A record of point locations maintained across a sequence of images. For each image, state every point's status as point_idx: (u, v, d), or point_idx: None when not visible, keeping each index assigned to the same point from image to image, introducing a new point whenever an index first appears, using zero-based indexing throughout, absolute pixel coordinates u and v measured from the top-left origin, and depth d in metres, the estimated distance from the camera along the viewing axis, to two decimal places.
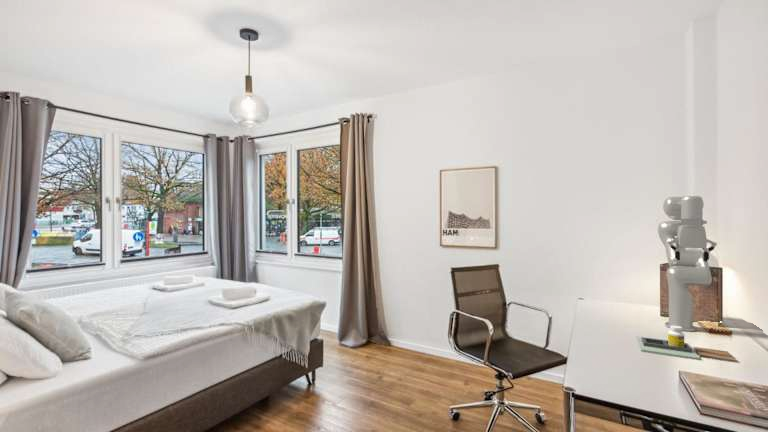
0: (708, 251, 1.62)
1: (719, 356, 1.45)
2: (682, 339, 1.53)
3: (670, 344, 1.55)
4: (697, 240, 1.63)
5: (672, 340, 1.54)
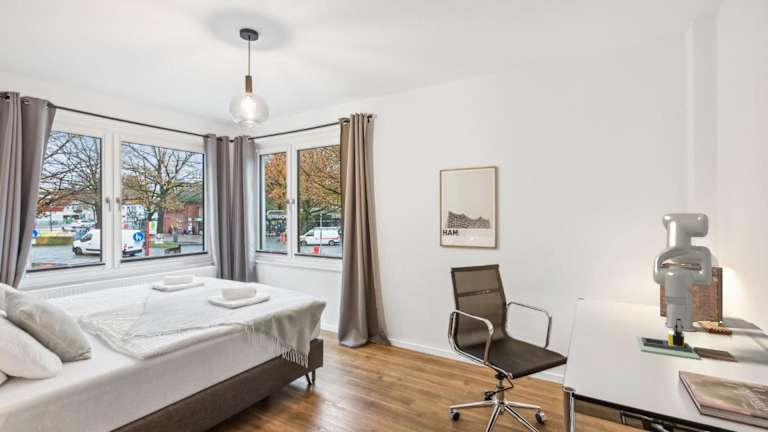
0: None
1: (719, 356, 1.45)
2: None
3: (670, 344, 1.55)
4: None
5: (672, 340, 1.54)
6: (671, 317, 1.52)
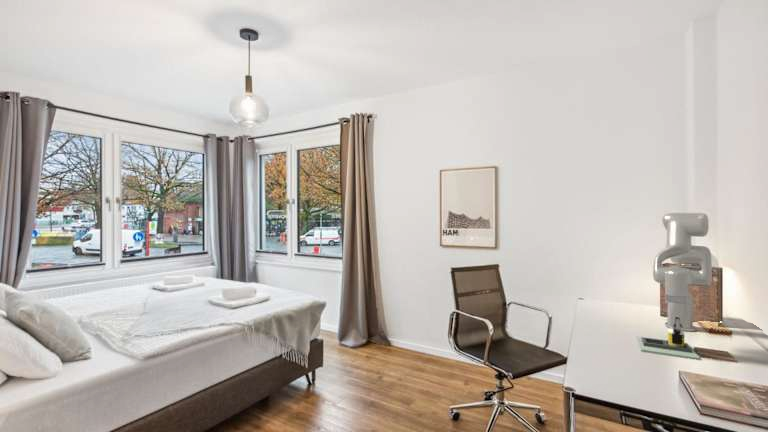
0: None
1: (719, 356, 1.45)
2: (682, 338, 1.53)
3: (670, 342, 1.55)
4: None
5: (671, 339, 1.55)
6: (670, 315, 1.53)
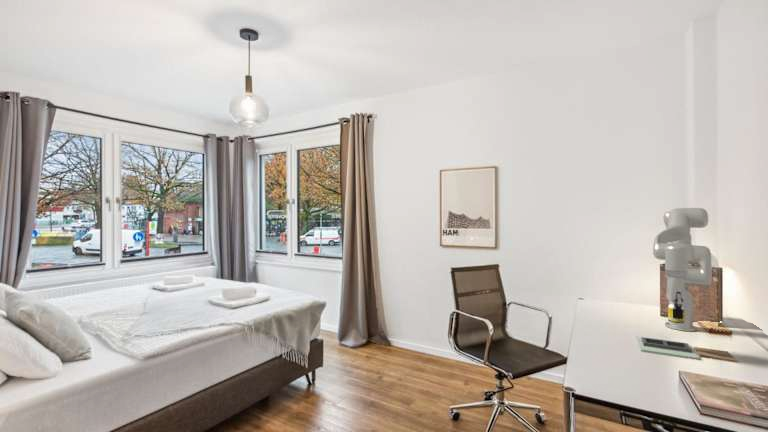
0: None
1: (719, 356, 1.45)
2: None
3: (670, 318, 1.55)
4: None
5: (672, 314, 1.54)
6: (671, 290, 1.53)
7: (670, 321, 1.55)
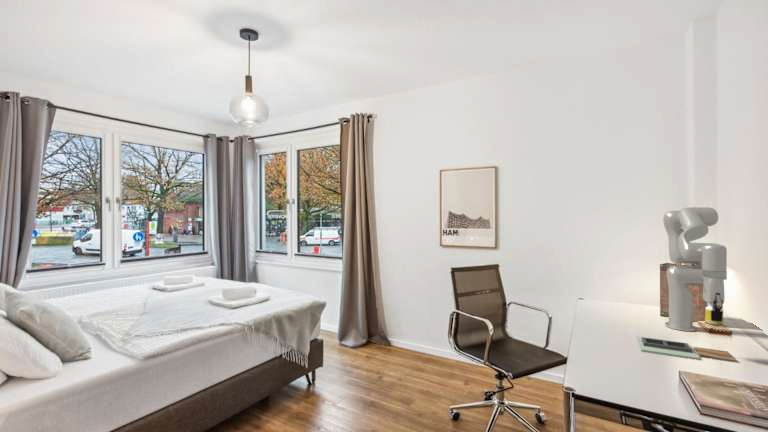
0: None
1: (719, 356, 1.45)
2: None
3: (708, 320, 1.49)
4: None
5: (710, 316, 1.48)
6: (710, 291, 1.46)
7: (708, 324, 1.49)
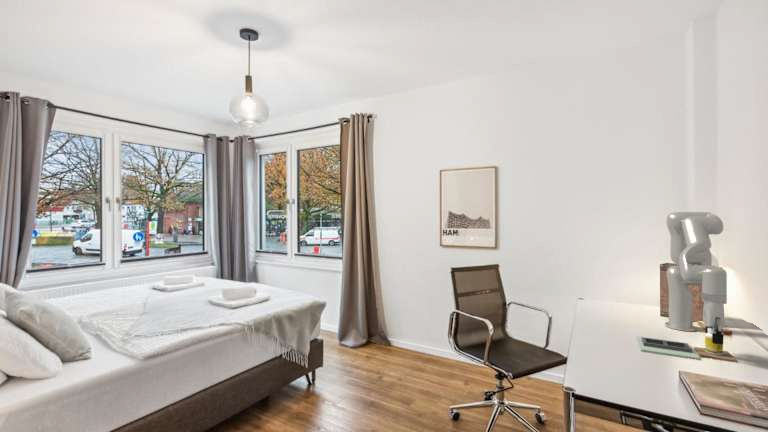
0: None
1: (719, 356, 1.45)
2: None
3: (708, 347, 1.49)
4: None
5: (710, 343, 1.48)
6: (710, 316, 1.46)
7: (707, 351, 1.49)
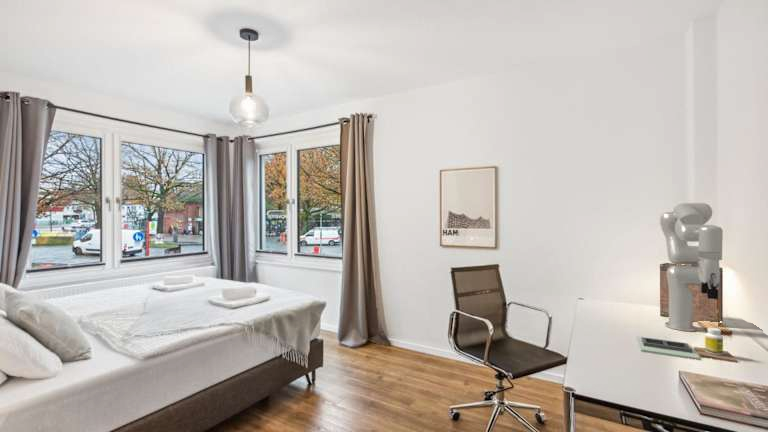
0: None
1: (719, 356, 1.45)
2: (721, 342, 1.47)
3: (708, 347, 1.49)
4: None
5: (710, 343, 1.48)
6: (705, 272, 1.50)
7: (707, 351, 1.49)
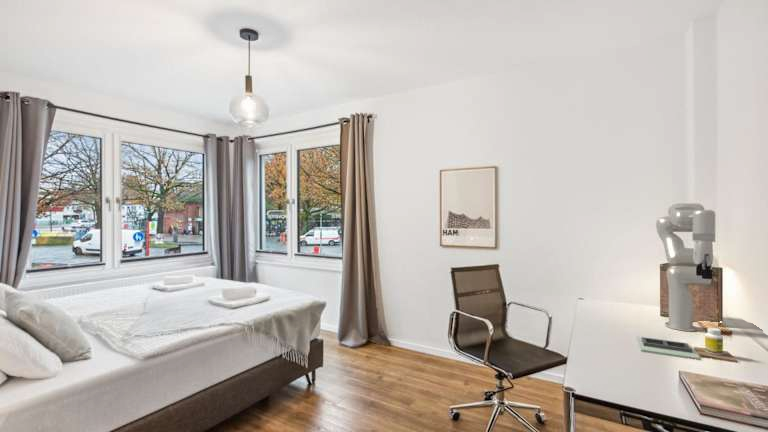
0: None
1: (719, 356, 1.45)
2: (721, 342, 1.47)
3: (708, 347, 1.49)
4: None
5: (710, 343, 1.48)
6: (699, 253, 1.56)
7: (707, 351, 1.49)
